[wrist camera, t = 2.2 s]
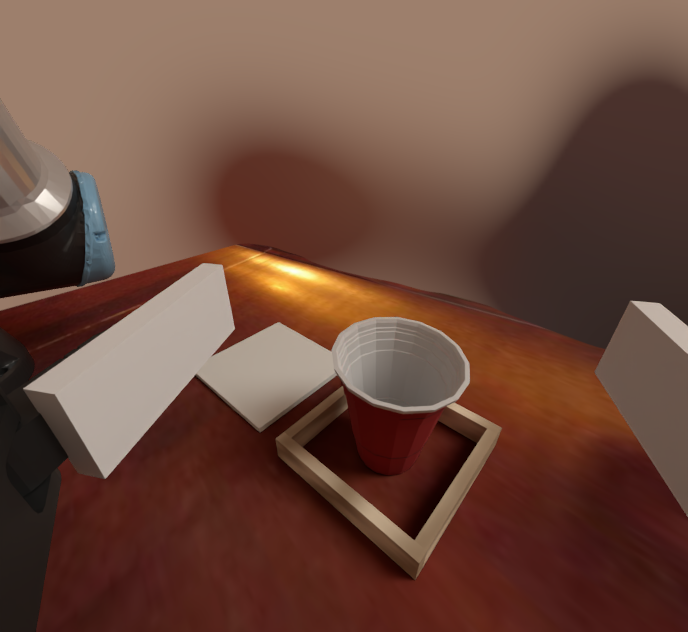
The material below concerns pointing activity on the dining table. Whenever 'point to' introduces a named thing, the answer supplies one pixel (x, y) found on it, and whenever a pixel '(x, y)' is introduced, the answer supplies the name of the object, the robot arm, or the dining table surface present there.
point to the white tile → (268, 374)
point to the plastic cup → (397, 386)
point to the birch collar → (361, 511)
